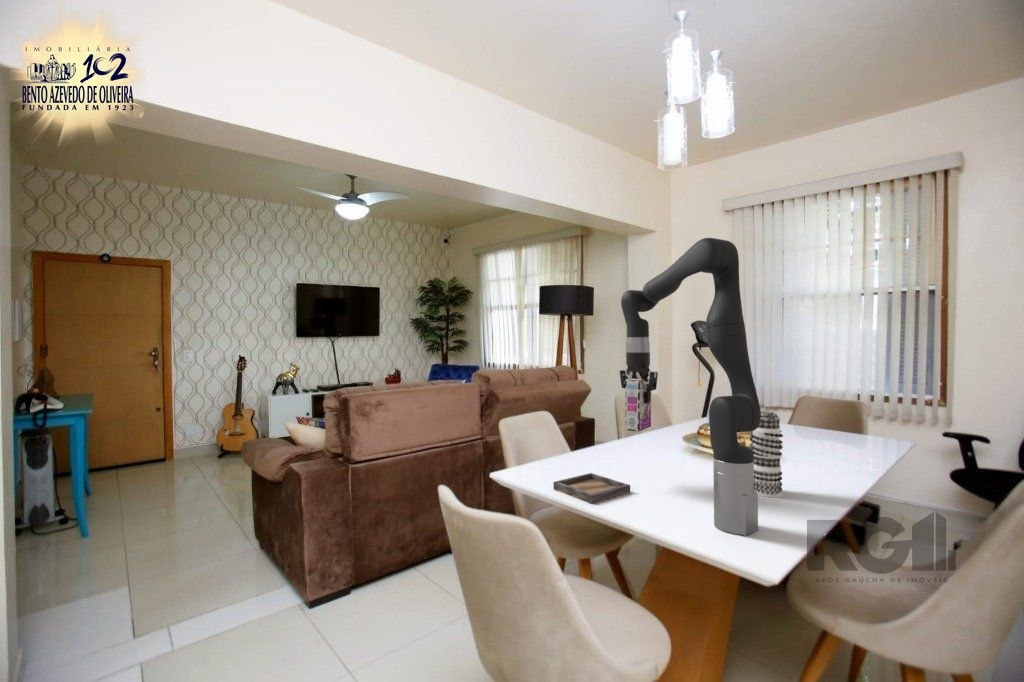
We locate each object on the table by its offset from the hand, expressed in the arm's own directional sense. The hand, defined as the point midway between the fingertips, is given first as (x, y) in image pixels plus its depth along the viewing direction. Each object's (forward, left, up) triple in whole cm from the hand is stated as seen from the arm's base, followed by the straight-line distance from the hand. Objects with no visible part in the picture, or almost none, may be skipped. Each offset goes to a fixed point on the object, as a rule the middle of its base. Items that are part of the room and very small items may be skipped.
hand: (638, 402), depth 150 cm
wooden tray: (+6, +16, -27) cm, 32 cm away
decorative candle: (-28, -26, -28) cm, 47 cm away
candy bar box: (0, 0, -9) cm, 9 cm away
